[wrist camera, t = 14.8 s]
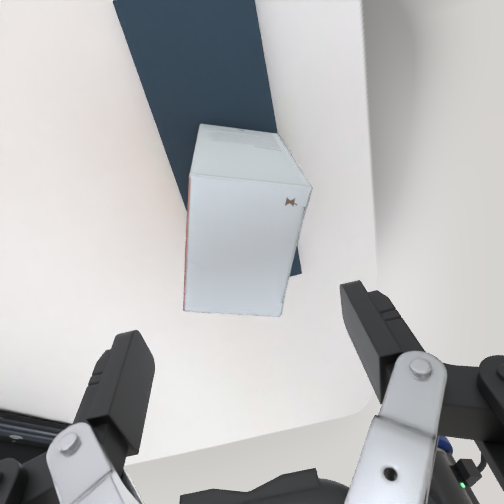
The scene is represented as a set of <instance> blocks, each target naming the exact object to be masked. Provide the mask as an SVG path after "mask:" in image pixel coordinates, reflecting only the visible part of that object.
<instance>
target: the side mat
mask: <svg viewBox="0 0 504 504" xmlns="http://www.w3.org/2000/svg"><path fill="white" fill-rule="evenodd" d="M113 4H114V7H115V10H116V12H117V15H118V18H119V21H120V24H121V27H122V29H123V32H124V35H125V38H126V41H127V44H128V46H129V49H130V52H131V55H132V58H133V60H134V63H135V66H136V69H137V72H138V75H139V77H140V80H141V83H142V86H143V89H144V91H145V94H146V97H147V100H148V103H149V106H150V108H151V111H152V114H153V117H154V120H155V123H156V125H157V128H158V131H159V134H160V137H161V139H162V142H163V145H164V148H165V151H166V154H167V156H168V159H169V162H170V165H171V168H172V171H173V173H174V176H175V179H176V182H177V185H178V187H179V190H180V193H181V196H182V199H183V202H184V204H185V207H186V210H187V209H188V188H189V174H190V170H191V165H192V161H193V155H194V150H195V145H196V140H197V135H198V130H199V126H200V124H208V125H216V126H224V127H231V128H239V129H246V130H254V131H261V132H268V133H277V128H276V122H275V116H274V111H273V105H272V99H271V93H270V87H269V82H268V76H267V70H266V64H265V59H264V53H263V47H262V41H261V35H260V30H259V24H258V18H257V12H256V7H255V1H254V0H114V1H113ZM301 273H302V272H301V267H300V261H299V255H298V249H297V246H296V250H295V255H294V259H293V263H292V267H291V271H290V276H294V275H298V274H301Z"/></svg>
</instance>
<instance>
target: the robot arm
mask: <svg viewBox="0 0 504 504" xmlns="http://www.w3.org/2000/svg"><path fill="white" fill-rule="evenodd" d="M340 295H341V305H342V314H343V319H344V323H345V326H346V329H347V331H348V333H349V336H350V338H351V340H352V342H353V344H354V347H355V349H356V351H357V353H358V355H359V358H360V360H361V362H362V364H363V367H364V369H365V371H366V373H367V375H368V378H369V380H370V382H371V384H372V386H373V389H374V391H375V393H376V395H377V397H378V399H379V402H380V404H382V406H381V409H380V412H379V414H378V415H375V416H374V418H373V420H372V422H371V425H370V428H369V431H368V434H367V437H366V440H365V443H364V446H363V449H362V452H361V455H360V458H359V461H358V464H357V467H356V470H355V473H354V476H353V479H352V483H351V485H350V488H349V487H347V486H345V485H343V484H340V483H338V482H335V481H331V480H327V479H320V478H318V476H317V471H316V468H313V469H308V470H303V471H298V472H293V473H288V474H283V475H281V476H279V477H277V478H275V479H273V480H271V481H269V482H267V483H265V484H264V485H262V486H259V487H258V488H256V489H254V490H252V491H249V492H239V491H229V490H219V489H209V490H205V491H200V492H195V493H190V494H185V495H181V496H180V504H479V502H478V500H477V498H476V497H475V495H474V493H473V492H472V490H471V488H470V487H471V486H473V485H474V484H475V483H476V482H477V481H478V480H479V479H480V478H481V477H482V475H481V474H480V472H482V471H483V469H484V468H485V467H486V463H488V465H489V467H490V468H491V470H492V472H493V473H494V475H495V477H496V479H497V480H498V482H499V484H500V486H501V487H502V489H503V491H504V356H503V355H496V356H490V357H487V358H485V359H484V360H483V361H482V362H481V363H480V366H479V367H469V366H456V365H450V364H445V363H442V362H441V361H440V360H439V359H438V358H437V357H435V356H433V355H431V354H429V353H426V352H425V351H424V349H423V348H422V346H421V345H420V343H419V342H418V341H417V339H416V338H415V336H414V335H413V333H412V332H411V330H410V329H409V327H408V326H407V324H406V323H405V321H404V320H403V318H401V315H400V314H399V313H398V311H397V310H396V309H395V307H394V305H393V304H392V302H391V301H390V299H389V298H388V297H387V296H385V295H383V294H382V293H380V292H379V291H377V290H376V291H372V292H367V291H366V289H365V287H364V286H363V284H362V283H361V281H360V280H358V281H354V282H349V283H345V284H341V285H340ZM154 372H155V363H154V358H153V356H152V354H151V352H150V350H149V348H148V346H147V345H146V343H145V341H144V339H143V337H142V335H141V334H140V332H139V331H138V330H134V331H130V332H125V333H121V334H117V335H116V337H115V339H114V342H113V345H112V348H111V349H110V350H106V351H105V352H104V354H103V355H102V356H101V357H100V359H99V360H98V361H97V363H96V365H95V368H94V371H93V373H92V377H91V378H90V381H89V383H88V385H89V386H88V387H87V389H86V391H85V394H84V396H83V399H82V401H81V404H80V407H79V409H78V412H77V414H76V417H75V419H74V422H73V424H72V425H71V426H69V427H67V428H66V429H64V430H63V431H62V432H60V433H59V434H58V435H57V436H56V438H55V439H54V440H53V441H52V443H51V444H50V446H49V448H48V451H46V452H45V453H43V454H41V455H39V456H37V457H35V458H33V459H31V460H29V461H27V462H25V463H23V464H20V463H19V462H18V461H17V460H15V459H14V458H5V459H2V460H0V504H144V502H143V500H142V498H141V496H140V495H139V493H138V491H137V489H136V487H135V485H134V484H133V482H132V480H131V478H130V476H129V474H128V473H127V471H126V469H125V468H124V463H125V459H126V457H127V456H132V455H137V454H138V453H139V448H140V443H141V438H142V433H143V428H144V423H145V418H146V413H147V408H148V403H149V397H150V392H151V387H152V382H153V377H154ZM439 435H440V436H448V437H455V438H464V439H471V440H474V441H475V443H476V444H477V446H478V448H479V450H480V451H481V463H480V464H479V466H478V467H476V466H475V464H474V462H473V461H472V459H460V460H459V461H458V462H457V463H456V462H455V460H454V458H453V457H452V455H451V453H450V451H446V450H444V449H443V448H442V447H441V446H438V439H439Z"/></svg>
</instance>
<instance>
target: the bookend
mask: <svg viewBox="0 0 504 504" xmlns="http://www.w3.org/2000/svg"><path fill="white" fill-rule="evenodd" d="M69 426H70V425H65V424H60V423H55V422H50V421H44V420H39V419H35V418H30V417H25V416H21V415H16V414H10V413H5V412H0V460H2V459H5V458H14V459H15V460H17V461H18V462H19V463H20V464H23V463H25V462H27V461H29V460H31V459H33V458H35V457H37V456H39V455H41V454H43V453H45V452H46V451H48V448H49V446H50V444H51V443H52V441H53V440H54V439H55V438H56V436H57V435H58V434H59V433H60V432H62V431H63V430H64V429H66V428H67V427H69Z"/></svg>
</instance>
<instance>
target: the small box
mask: <svg viewBox="0 0 504 504" xmlns="http://www.w3.org/2000/svg"><path fill="white" fill-rule="evenodd" d="M311 192H312V186H311V184H310V183H309V181H308V180H307V178H306V177H305V175H304V174H303V172H302V171H301V169H300V167H299V166H298V164H297V163H296V161H295V160H294V158H293V157H292V155H291V154H290V152H289V150H288V149H287V147H286V146H285V144H284V143H283V141H282V140H281V138H280V137H279V135H278V134H277V133H268V132H261V131H254V130H246V129H239V128H231V127H224V126H216V125H208V124H200V126H199V130H198V135H197V140H196V145H195V150H194V155H193V161H192V165H191V170H190V174H189V188H188V209H187V228H186V248H185V276H184V302H183V310H184V311H188V312H201V313H220V314H237V315H256V316H274V317H279V316H281V314H282V309H283V303H284V298H285V293H286V288H287V284H288V280H289V276H290V271H291V267H292V263H293V259H294V255H295V250H296V246H297V242H298V238H299V234H300V230H301V226H302V223H303V219H304V215H305V211H306V208H307V206H308V202H309V199H310V195H311Z"/></svg>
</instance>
